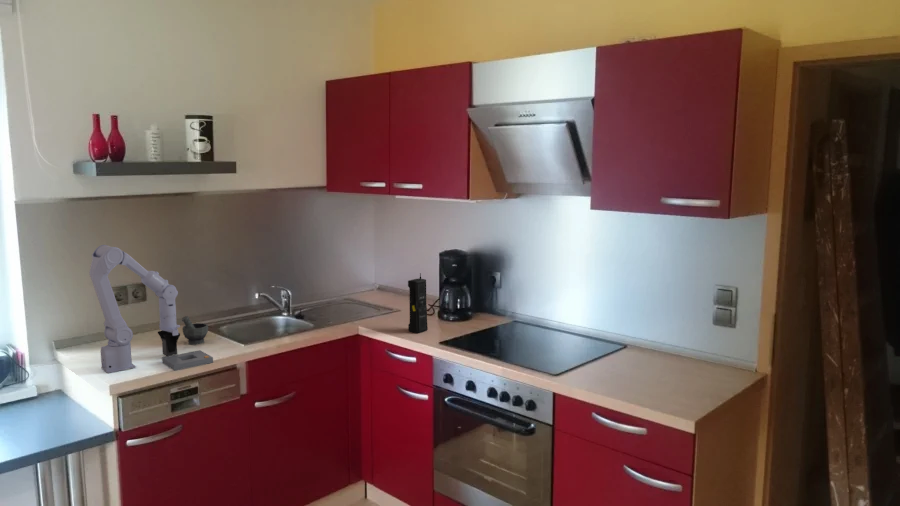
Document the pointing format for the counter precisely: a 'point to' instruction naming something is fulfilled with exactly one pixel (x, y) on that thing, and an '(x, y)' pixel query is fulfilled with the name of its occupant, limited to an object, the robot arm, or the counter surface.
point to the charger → (165, 348)
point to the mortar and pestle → (194, 331)
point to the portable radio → (417, 305)
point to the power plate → (187, 360)
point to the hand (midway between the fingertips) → (169, 350)
